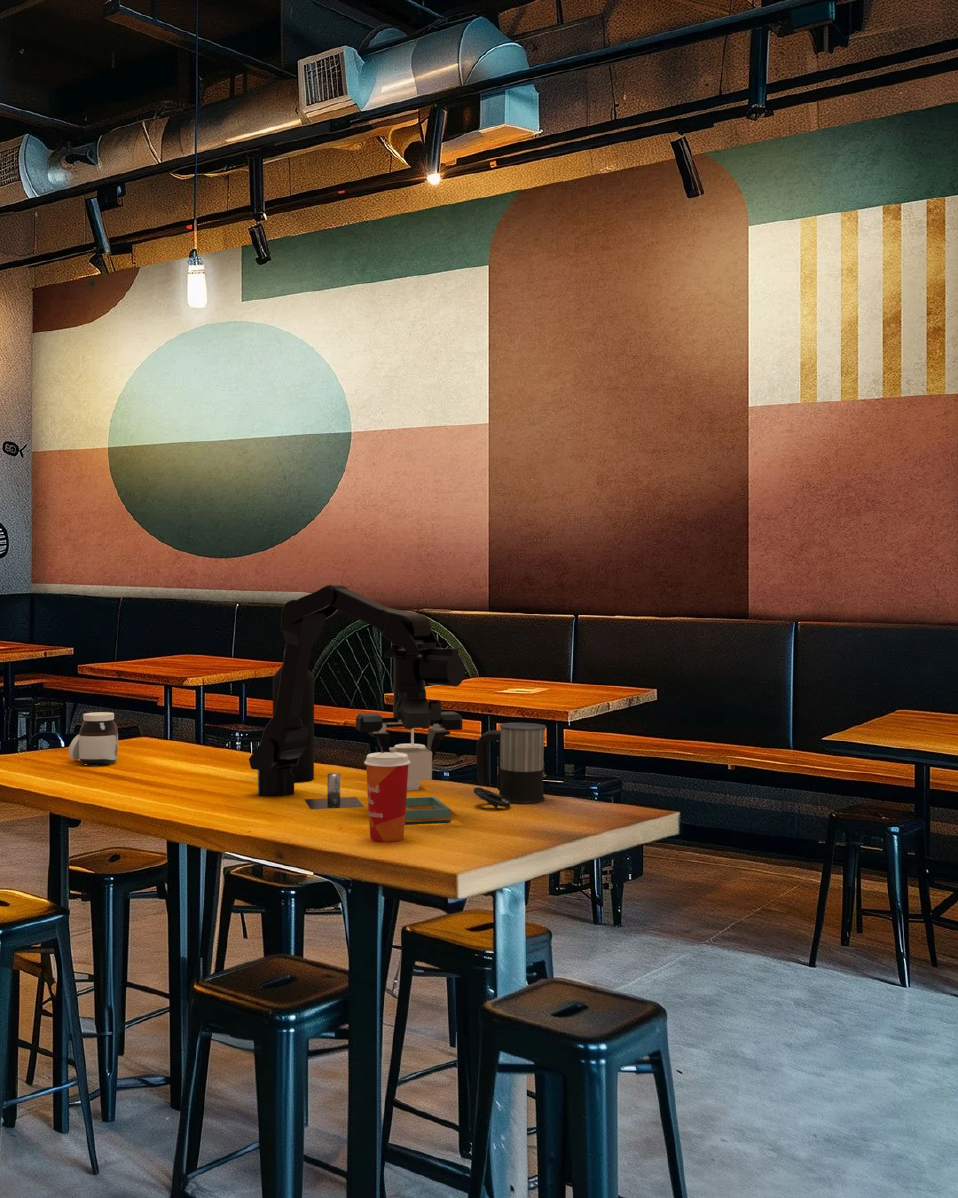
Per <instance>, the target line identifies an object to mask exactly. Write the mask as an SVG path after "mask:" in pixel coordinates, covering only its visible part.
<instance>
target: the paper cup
mask: <svg viewBox="0 0 958 1198" xmlns="http://www.w3.org/2000/svg"><path fill="white" fill-rule="evenodd" d="M363 763H364V765H365V766H366V769H365V770H366V784H367V785H366V786H367V803H368V804H367V808H368V823H369V824H368V825H369V836H370V840H371V841H374V842H379V843H392V842H393V843H394V842H400V841H402V840H404V838H405V826H406V825H405V822H406V820H405V813H406V810H407V807H406V798H408V797H407V796H408V793H407V791H408V790H407V780H408V764H410V761H409V760H408V755H407V754H404V753H397V752H394V753H391V752H384V753H382V752H381V751H380V752H373V753H372V752H371V753H368V754H367V755H366V759H365V760H364V762H363Z"/></svg>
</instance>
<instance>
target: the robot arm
mask: <svg viewBox="0 0 958 1198" xmlns="http://www.w3.org/2000/svg"><path fill="white" fill-rule="evenodd" d="M339 611H340V612H342V613H343V614H346V615H348V616H350V617H353V618H355V619H357V620H358V621H360V622H363V623H365V624H367V625H370V626H372V627H374V628H375V629H376V630H378V631H379V632H380V634H381V635H382V636H383V638H385V639H386V640H387V641H389V642H390V643H392V645H391V646H390V648H389V649H388V650H387V651H386V652H385V653H383V657H384V658H387V659H388V658H389V659H390V658H391V659H393V689H392V690H393V710H392V714H393V715H392V716H388V717H386V716H385V717H383V715H381V714H379V712H374V713H373V712H369V713H368V712H367V713H361V712H360V713H358V715H356V717H355V729H356V730H357V731H358V732H360V733H368V734H369V735H370V736H371V737H374V738H375V740H376V742H377V745H378V746H379V749H380V752H381V753H384V752H390V750H389V748H390V741H389V740H390V733H389V732H388V731H387V728H403V729H406V730H411V729H413V728H414V729H423V730H427V729H428V730H427V745H426V748H427V749H428V750H430V751H431V752H432V763H433V762H434V759H435V756H436V754H437V751H438V747H439V745H440V744H441V742H442V740H443V738H444V737H445V736H448V735H451V731H461V730H463V717H462V716H461V714H459V713H457V712H455V711H442V702H441V700H440V699H436V700H435V699H434V700H431V699H430V700H429V701H428V700H427V690H426V684H427V685H431V686H441V687H442V686H443V687H456V688H457V687H459V686H460V685H461V684H462V682H463V681H464V678H465V674H466V666H465V664H464V661H463V658H462V657H461V656H460V655H459V649H458V648H457V647H447V648H446V647H445V648H444V647H442V644H441V643H440V641H439V639H438V638H437V636H436V635H435V632H434V631H433V629H432V628H431V627H432V626H431V623H430V620H429V618H428V616H426V615H425V614H421V613H418V612H413V611H406V610H401V609H394V608H391V607H389V606H386V605H384V604H381V602H377V601H375V600H373V599H370V598H368V597H367V596H364V595H363V594H360V593H359V592H356V591H354V590H350V589H349V588H348V587H347V586H345V585H342V584H328V585H325V586H323V587H322V588H320V589H319V590H318V589H317V591H315V592H312V593H310V594H307V595H305V596H301V597H299V598H298V599H291V600H289V601H287V602H286V603H284V605H283V606H282V609H281V614H280V615H281V616H280V617H281V618H280V619H281V622H280V630H281V633H282V636H283V637H284V639H283V640H284V641H285V649H284V650H285V654H284V653H283V661H282V665H283V666H281V667H282V672H281V678H280V684H279V691H278V697H277V703H276V709H275V714H274V716H273V715H272V718H271V719H270V720H269V722H268V723H267V724H266V726H265V727H264V729H263V733H262V737H261V739H260V743H259V746H257V748H256V749H255V751H253V753H252V754H251V756H249V758H248V762H249V766H250V769H251V770H254V771H255V770H257V794H258V797H270V798H271V797H272V798H276V797H285V796H291V795H295V783H294V775H293V773H291V767H290V766H297V765H298V762H299V759H300V755H302V753H303V751H304V748H307V737H308V733H309V729H308V728H304V727H303V725H302V722H301V719H300V714H301V708H302V702H303V696H304V690H305V684H306V678H307V672H308V669H309V665H310V659H311V653H312V649H313V646H314V644H315V643H316V642H317V640H318V638H319V637H320V636H321V634H322V632H323V629H324V626H325V624H326V620H327V619H329V618H330V617H332V616H333V615H335V614H336V613H337V612H339ZM430 727H431V728H430Z"/></svg>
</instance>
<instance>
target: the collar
mask: <svg viewBox="0 0 958 1198" xmlns="http://www.w3.org/2000/svg"><path fill="white" fill-rule="evenodd" d="M389 750H390V752H391V753H394V752H397V753H404V754H407V755H408V760H409V761H410V764H408V780H407V781H414V780H420V781H432V780H433V769H432V768H433V762H432V752H431V751H430V750H428V749H427V747H426V746H425V747H394V746H393V747H389Z"/></svg>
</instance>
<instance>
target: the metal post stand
mask: <svg viewBox="0 0 958 1198" xmlns="http://www.w3.org/2000/svg"><path fill="white" fill-rule="evenodd" d="M304 802H305V803H306V805H307V806H308V808H309V809H310V810H326V809H327V810H328V809H329V810H330V809H346V808H347V809H348V808H350V809H351V808H365V805H364V804H363V803H362V802H361V801H360V800H359V799H358V798H357V797H356V796H353V797H352V796H351V797H341V773H340V772H328V773H327V796H326V797H324V798H305V799H304Z"/></svg>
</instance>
